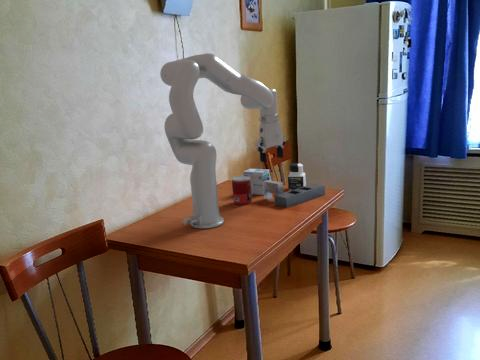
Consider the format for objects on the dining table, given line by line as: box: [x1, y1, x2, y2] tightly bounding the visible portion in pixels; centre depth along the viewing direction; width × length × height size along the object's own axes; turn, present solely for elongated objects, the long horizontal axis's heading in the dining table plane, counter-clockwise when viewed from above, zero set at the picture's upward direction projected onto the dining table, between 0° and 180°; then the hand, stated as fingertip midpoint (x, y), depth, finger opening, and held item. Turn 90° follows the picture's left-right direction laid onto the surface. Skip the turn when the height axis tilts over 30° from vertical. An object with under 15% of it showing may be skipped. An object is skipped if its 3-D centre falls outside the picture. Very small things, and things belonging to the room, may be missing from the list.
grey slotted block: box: [273, 183, 326, 209], centre depth 187 cm, size 24×7×4 cm, turn 130°
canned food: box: [231, 175, 253, 206], centre depth 188 cm, size 8×8×11 cm
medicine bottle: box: [287, 162, 307, 191], centre depth 203 cm, size 7×7×12 cm
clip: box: [263, 179, 284, 201], centre depth 189 cm, size 9×3×8 cm, turn 40°
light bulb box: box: [242, 168, 271, 196], centre depth 202 cm, size 11×7×11 cm, turn 58°
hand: (272, 159), depth 186 cm, fingers open, 9 cm apart
